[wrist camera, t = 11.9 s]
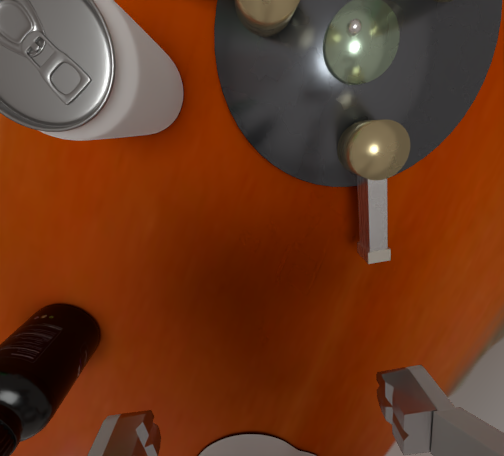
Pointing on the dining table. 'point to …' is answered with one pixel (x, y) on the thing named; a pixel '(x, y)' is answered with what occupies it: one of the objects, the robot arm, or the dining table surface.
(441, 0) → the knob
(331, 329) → the dining table surface
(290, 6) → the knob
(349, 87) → the levelling plate
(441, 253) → the dining table surface
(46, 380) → the supplement bottle
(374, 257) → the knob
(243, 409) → the dining table surface
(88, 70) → the can
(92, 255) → the dining table surface
